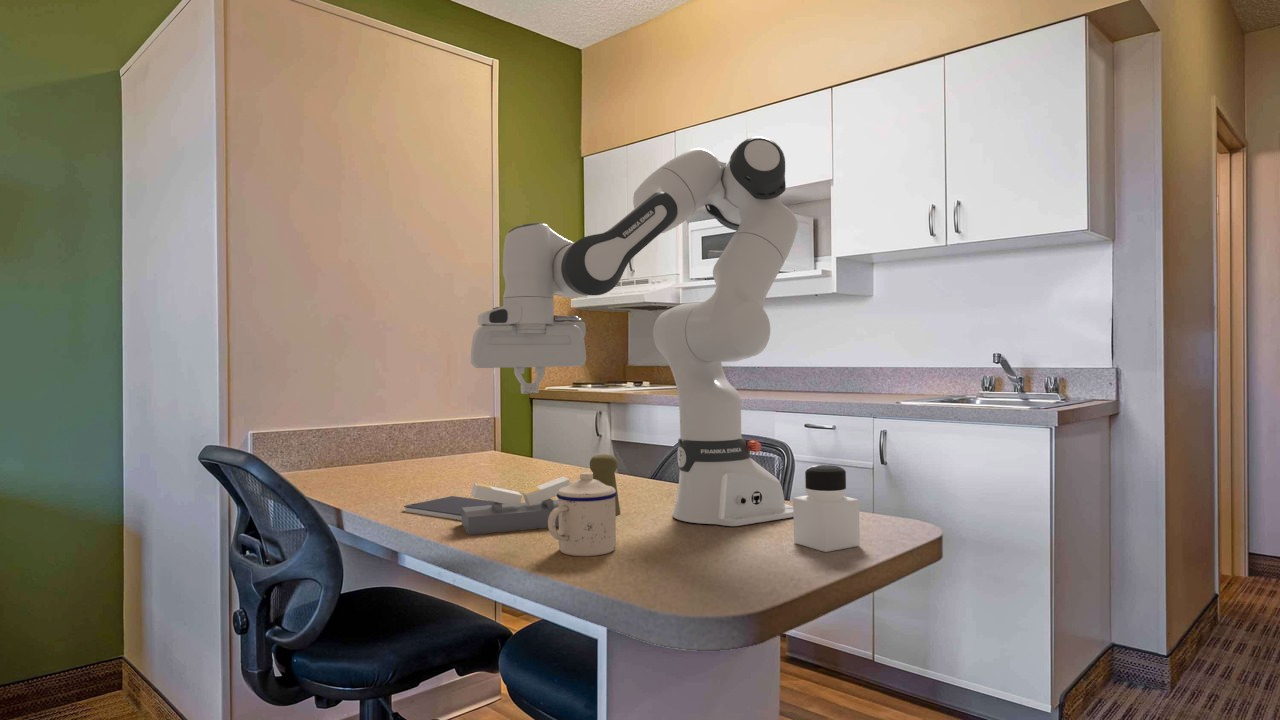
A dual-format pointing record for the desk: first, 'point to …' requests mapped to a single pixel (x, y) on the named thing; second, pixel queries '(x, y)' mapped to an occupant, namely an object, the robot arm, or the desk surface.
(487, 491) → the rocker
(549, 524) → the teacup with lid
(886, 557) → the desk surface
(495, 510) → the power strip
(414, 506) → the notebook
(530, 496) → the rocker
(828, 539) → the medicine bottle
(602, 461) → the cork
